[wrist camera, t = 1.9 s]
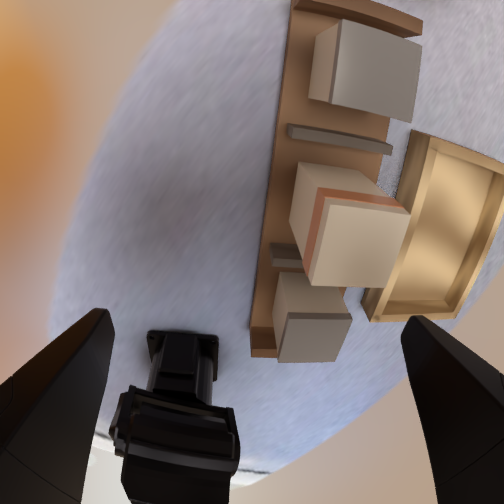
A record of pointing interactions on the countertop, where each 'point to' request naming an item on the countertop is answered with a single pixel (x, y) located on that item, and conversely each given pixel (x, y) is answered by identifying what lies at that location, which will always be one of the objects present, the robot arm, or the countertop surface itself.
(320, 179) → the beige striped box
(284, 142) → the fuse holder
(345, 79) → the block
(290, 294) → the grey beige rectangular block
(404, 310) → the tray
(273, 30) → the countertop surface
